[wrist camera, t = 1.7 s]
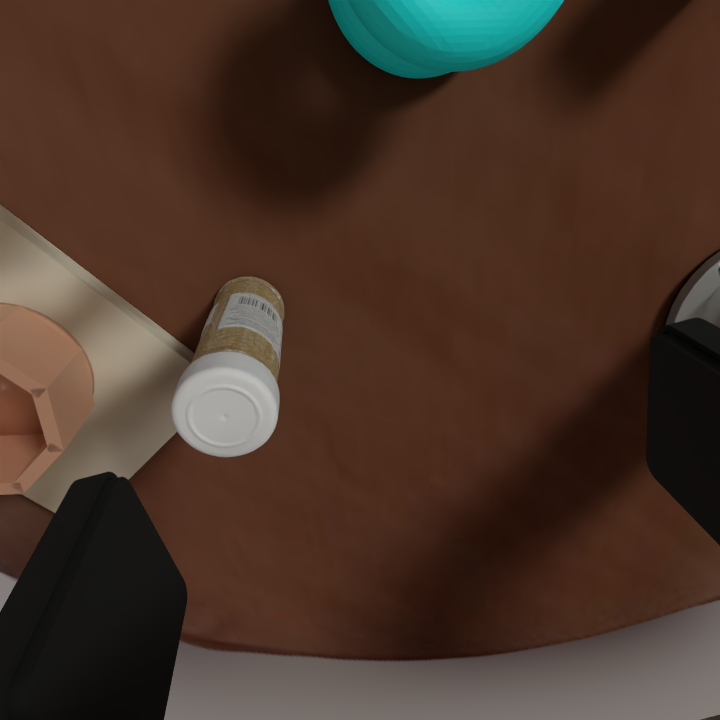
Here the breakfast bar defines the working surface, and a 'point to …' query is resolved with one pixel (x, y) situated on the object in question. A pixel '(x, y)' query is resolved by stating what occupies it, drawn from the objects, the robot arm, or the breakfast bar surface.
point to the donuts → (439, 32)
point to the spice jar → (233, 372)
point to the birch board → (95, 360)
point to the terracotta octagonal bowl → (38, 394)
